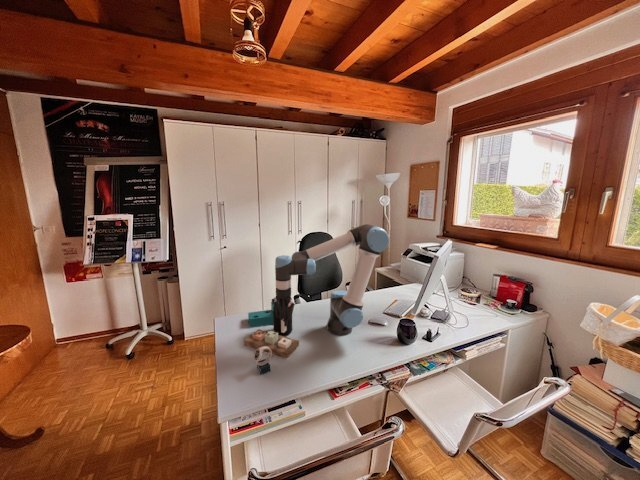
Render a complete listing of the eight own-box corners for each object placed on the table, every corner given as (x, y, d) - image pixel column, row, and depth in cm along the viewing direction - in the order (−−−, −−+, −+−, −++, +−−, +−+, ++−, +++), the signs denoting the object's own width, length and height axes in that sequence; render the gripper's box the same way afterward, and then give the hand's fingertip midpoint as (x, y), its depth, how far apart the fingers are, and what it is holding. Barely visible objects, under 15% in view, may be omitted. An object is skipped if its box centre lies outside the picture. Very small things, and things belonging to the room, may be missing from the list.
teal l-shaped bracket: (277, 316, 170) (276, 301, 169) (280, 323, 160) (279, 306, 159) (248, 320, 165) (247, 304, 164) (249, 327, 154) (248, 310, 153)
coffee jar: (295, 329, 154) (295, 301, 150) (285, 338, 144) (285, 308, 141) (280, 325, 158) (280, 297, 154) (269, 334, 148) (269, 304, 145)
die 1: (265, 339, 142) (265, 331, 141) (260, 344, 137) (260, 336, 137) (258, 336, 144) (258, 329, 143) (252, 341, 139) (252, 334, 139)
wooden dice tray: (299, 345, 138) (299, 340, 137) (286, 359, 127) (286, 353, 126) (258, 334, 148) (258, 329, 148) (244, 345, 138) (244, 340, 137)
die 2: (278, 339, 138) (278, 332, 138) (272, 344, 134) (272, 337, 133) (270, 337, 140) (270, 330, 140) (264, 342, 136) (264, 334, 135)
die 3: (291, 346, 135) (291, 339, 135) (286, 352, 131) (286, 344, 130) (283, 344, 137) (283, 337, 137) (277, 349, 133) (277, 341, 132)
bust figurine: (252, 369, 119) (252, 347, 117) (269, 363, 124) (269, 342, 122) (257, 376, 115) (256, 354, 113) (274, 370, 119) (273, 348, 117)
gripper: (298, 286, 129) (298, 330, 133) (276, 282, 134) (277, 325, 138) (291, 292, 122) (291, 338, 127) (267, 287, 127) (268, 331, 132)
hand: (283, 331), depth 133 cm, fingers closed
